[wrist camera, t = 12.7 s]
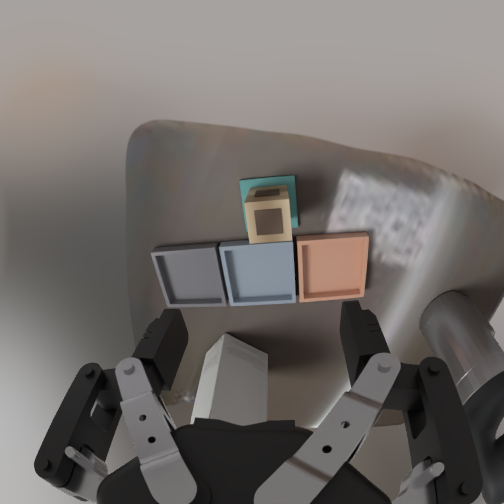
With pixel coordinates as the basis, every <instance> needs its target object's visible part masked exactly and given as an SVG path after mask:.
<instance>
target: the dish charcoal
mask: <svg viewBox="0 0 504 504" xmlns="http://www.w3.org/2000/svg"><path fill="white" fill-rule="evenodd" d="M151 256H152V259H153V262H154V266H155V269H156V272H157V276H158V279H159V282H160V285H161V288H162V291H163V294H164V297H165V300H166V303H167V306H168V307H214V306H227V303H228V295H227V290H226V285H225V280H224V275H223V270H222V264H221V259H220V254H219V249H218V243H217V242H214V243H202V244H190V245H179V246H167V247H156V248H154V249H153V251H152V252H151Z"/></svg>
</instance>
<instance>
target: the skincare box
mask: <svg viewBox="0 0 504 504" xmlns="http://www.w3.org/2000/svg"><path fill="white" fill-rule="evenodd" d="M267 382H268V354H266V353H264V352H262V351H260V350H258V349H256V348H254V347H252V346H250V345H248V344H246V343H244V342H242V341H240V340H238V339H237V338H235V337H233V336H231V335H229V334H227V333H225V334H224V335H223V336H222V337H221V338H220V339H219V340H218V341H217V342H216V343H215V344H214V345H213V347H212V348H211V349H210V350H209V351H208V352H207V353H206V357H205V361H204V365H203V369H202V374H201V378H200V382H199V387H198V391H197V395H196V400H195V404H194V409H193V413H192V418H191V423H190V424H194V420H195V417H197V418H208V419H219V420H222V421H226V422H229V423H233V424H237V425H241V426H246V425H251V424H256V423H261V422H266V421H267Z"/></svg>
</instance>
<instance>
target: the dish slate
mask: <svg viewBox="0 0 504 504" xmlns="http://www.w3.org/2000/svg"><path fill="white" fill-rule="evenodd" d="M219 250H220V255H221V261H222V266H223V271H224V276H225V281H226V286H227V292H228V297H229V301H230V306H243V305H264V304H282V303H296V293H295V271H294V253H293V239H292V241H278V242H265V243H252V244H250V243H249V240H239V241H227V242H221V244H220V246H219Z"/></svg>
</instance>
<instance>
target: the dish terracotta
mask: <svg viewBox="0 0 504 504" xmlns="http://www.w3.org/2000/svg"><path fill="white" fill-rule="evenodd" d="M296 239H297V257H298V279H299V300H300V302H311V301H323V300H335V299H346V298H356V297H364V289H365V280H366V270H367V258H368V244H369V236H368V234H367V233H366V232H350V233H335V234H320V235H306V236H296Z"/></svg>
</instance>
